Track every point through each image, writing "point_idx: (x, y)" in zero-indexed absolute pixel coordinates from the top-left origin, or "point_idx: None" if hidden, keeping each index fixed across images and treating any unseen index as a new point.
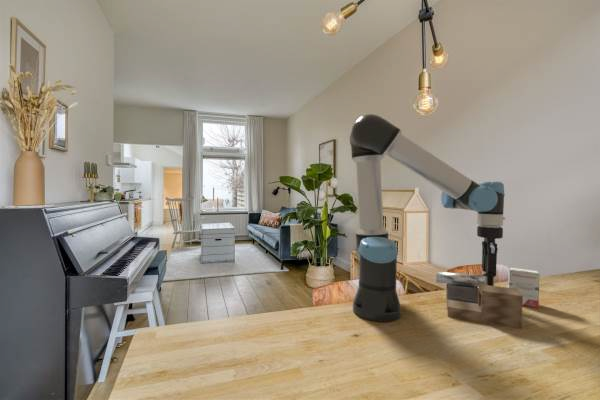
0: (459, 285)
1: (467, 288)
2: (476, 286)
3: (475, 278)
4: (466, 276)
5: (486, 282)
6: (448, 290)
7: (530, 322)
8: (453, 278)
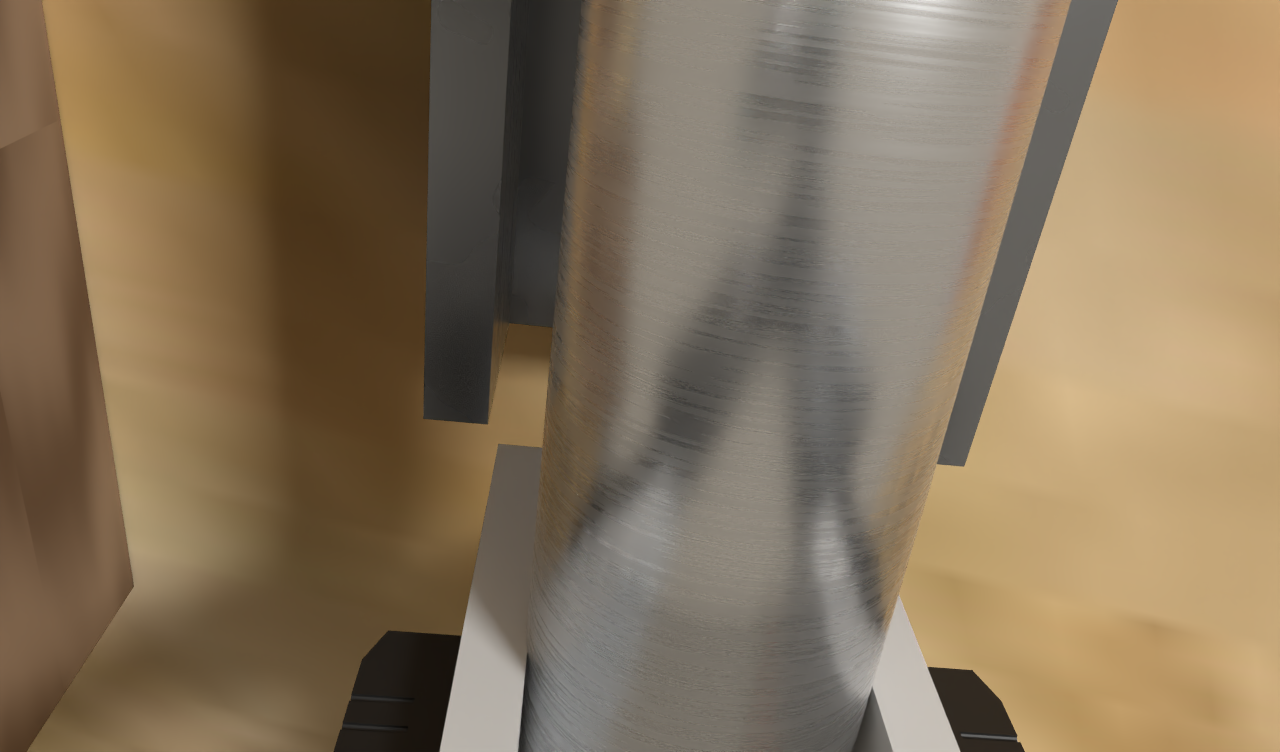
0: None
1: (437, 103)
2: None
3: (568, 480)
4: (639, 212)
5: (456, 668)
6: None
7: (122, 708)
8: None
